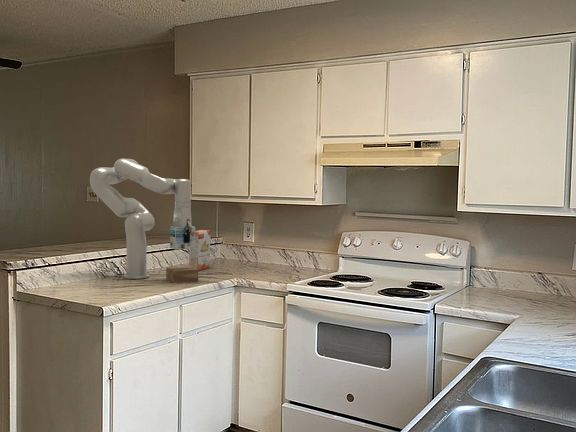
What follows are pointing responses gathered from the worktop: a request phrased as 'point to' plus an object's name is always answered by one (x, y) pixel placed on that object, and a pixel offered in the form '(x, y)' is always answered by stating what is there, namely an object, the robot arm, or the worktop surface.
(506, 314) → the worktop surface
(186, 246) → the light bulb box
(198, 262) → the cracker box
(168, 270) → the walnut block
